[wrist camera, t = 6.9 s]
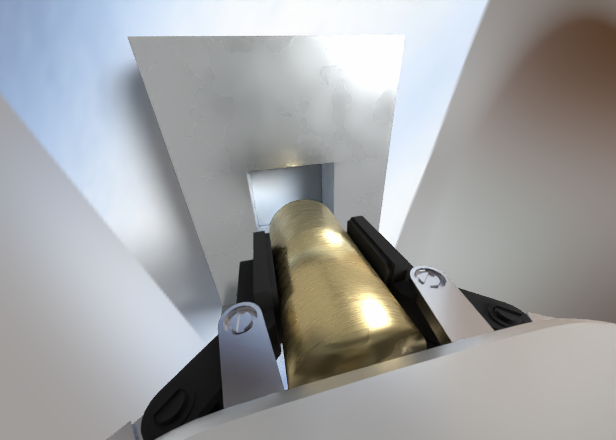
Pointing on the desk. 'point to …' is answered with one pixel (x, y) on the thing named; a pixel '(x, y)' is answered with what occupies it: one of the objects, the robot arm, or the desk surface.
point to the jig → (270, 126)
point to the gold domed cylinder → (332, 299)
